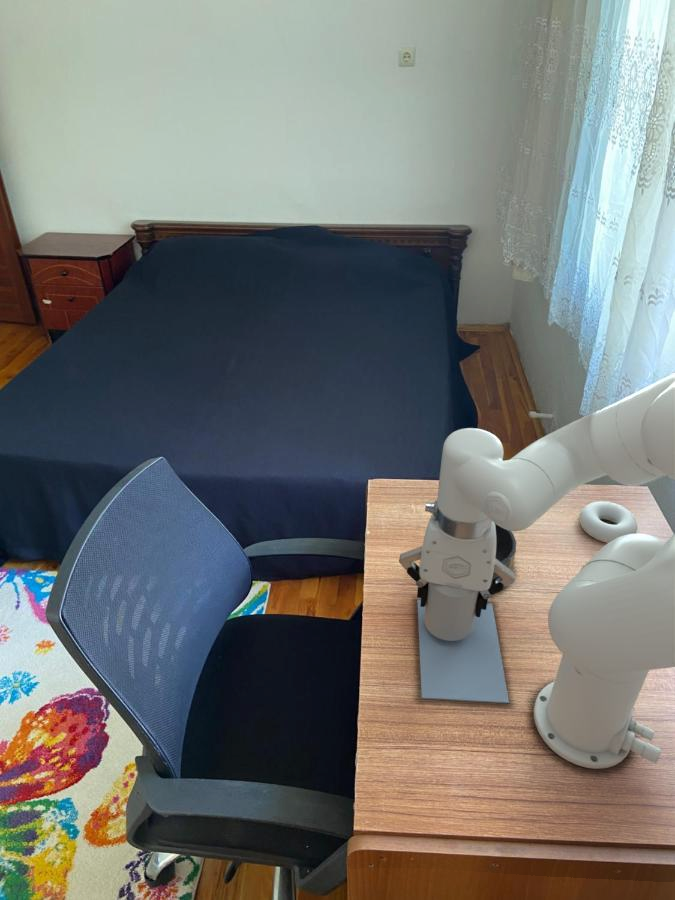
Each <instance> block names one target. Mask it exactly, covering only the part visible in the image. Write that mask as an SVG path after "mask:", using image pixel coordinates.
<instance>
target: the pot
mask: <svg viewBox="0 0 675 900" xmlns="http://www.w3.org/2000/svg"><path fill="white" fill-rule="evenodd" d="M495 528H496V556H495V558H496V559H497V560H498V561H500V562H501V563H502V564H503V565H505V566H506V567H507V568H509V569H510V570H511V571H512V572H513V567H514V562H515V558H516V553H517V540H516V536H515V534H514V532H513V531H509V530H506V529H504V528H501V527H500V526H498V525H497V524H495ZM497 577H500V576H498V575H497V574H496V573H495V572H493V578H492V579H494V578H497Z"/></svg>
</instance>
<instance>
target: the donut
mask: <svg viewBox="0 0 675 900" xmlns="http://www.w3.org/2000/svg"><path fill="white" fill-rule="evenodd" d="M602 520H607V521H610V522H612V523H614V524H610V523H607V522H604V521H602ZM579 523H580V526H581V527H582V529H583V531H584V532H586V533H587V535H589V536H590V537H591V538H593V539H594V540H597V541H600V542H603V543H606V544H608V543H609V542H611V541H612V540H614V539H616V538H618V537H620V536H623V535H627V534H634V533H637V532H638V523H637V519H636V517H635V516H634V514H633V513H632V512H631V511H630V510H628V508H626V507H625V506H623V505H621V504H618V503H614V502H611V501H605V500H603V501H602V500H600V501H593V502H591V503H587V505H585V506H584V507H583V508H582V510H581V511H580V514H579Z"/></svg>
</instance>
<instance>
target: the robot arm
mask: <svg viewBox="0 0 675 900" xmlns="http://www.w3.org/2000/svg"><path fill="white" fill-rule="evenodd" d="M440 462H441V463H440V471H439V480H438V489H437V497H436V499H435V500H434V501H430V502H429V501H426V502H425V509H424V512H427V513H430V514H431V515H430V518H429V520H428V523H427V526H426V529H425V533H424V536H423V541H422V545H421V546H419V547H416V548H412V549H410V550H408V551H405V552H402V553H400V555H399V559H398V563H399V564H400V565H401V566H402V567H403V569H404V570H405V571H406V575H408V576H409V577H410V578H411V579H412V580H413V581H415V586H416V587H417V591H416V598H417V599H420V600H421V604H420V606H421V607H424V606H425V604H426V597H427V589H428V582H430V583H435V584H440V585H445V586H447V585H446V584H445V583H449V584H454V585H460V586H463V587H460V588H462V589H468V590H475V591H479V595H478V600H477V606H476V612H475V616H476V617H480V615H481V609H483V610H486V607H487V603H489V602H488V601H489V600H491V598H492V596H493V595H495V594H497V593H500V592H502V591H503V590H504V589H505V588H507V587H508V586H510V585H511V584H513V583H515V581H516V573H515V572H514V571H513V570H512V571H511V570H510V569H509V568H507V567H506V566H505V565H503V564H502V563H501V562H500V561H498V560H497V559H496V558H495V556H496V528H495V524H497V525H498V526H500V527H501V528H504V529H506V530H509V531H511V532H520V531H523V530H526V529H528V528H529V527H531V526H532V525H533V524H535V523H536V522H537V521H538V520H539V519H540V518H542V517H543V515H545V514H546V513H548V511H550V509H551V508H553V507H554V506H556V504H557V503H559V501H561V500H562V499H563V498H565V497H566V496H567V495H568V494H570V493H571V492H572V491H573V490H575V489H576V488H579V487H580V486H583V485H585V484H588V483H590V482H592V481H594V480H598V479H601V478H602V477H606V476H608V478H610V479H612V480H613V481H615V482H617V483H619V484H620V485H622V486H623V485H624V486H629V487H637V486H642V485H645V484H648V483H650V482H654V481H656V480H659V479H661V478H664V477H668V478H670V479H671V480H673V481H674V482H675V372H674V373H672V374H669V375H668V376H666V377H663V378H662V379H660V380H658V381H656V382H654V383H652V384H650V385H648V386H646V387H644V388H642V389H641V390H638V391H636V392H634V393H632V394H631V395H628V396H626V397H624V398H622V399H620V400H618V401H616V402H614V403H612V404H610V405H608V406H606V407H604V408H602V409H600V410H596V411H593V413H590V414H588V415H585V416H583V417H581V418H579V419H576V420H574V421H573V422H569V423H568V424H566V425H564V426H562V427H559V428H558V429H556V430H555V431H552V432H550V433H548V434H546V435H544V436H543V437H541V438H539V439H537V440H535V441H534V442H532V443H530V444H529V445H528V446H526V447H525V448H523V449H522V450H520V451H519V452H518V453H516V454H515V455H514V456H513V457H510V459H507V460H505V459H504V446H503V443H502V442H501V440H500V439H499V438H498V436H496V435H495V434H493V433H491V432H490V431H487V430H484V429H481V428H474V427H466V428H460V429H457V430H455V431H453V432H451V433H450V434H449V435H448V436H447V437H446V439H445V440H444V443H443V446H442V454H441V461H440ZM419 560H420V561H419ZM417 561H419V565H418V564H417V563H416V562H417ZM493 572H495V573H496V574H497V575H498V576H500V577H497V578H494V579H492V578H493ZM547 616H548V617H547V624H548V631H549V635H550V637H551V639H552V641H553V643H554V645H555V646H556V648H557V649H558V651H560V653H561V654H562V656H561V659H560V662H559V664H558V665H559V666H558V668H557V672H556V675H555V679H554V681H553V682H550V683H548V684H547V685H545V686H544V687H543V688H541V690H540V692H539V693H538V694H537V697H536V699H535V702H534V707H533V720H534V725H535V728H536V729H537V732H538V734H539V735H540V737H541V738H542V740H543V742H544V743H545V744H546V745H547V746H548V747H549V748H550V749H551V751H553V752H554V753H555V754H556V755H558V756H559V757H560V758H562V759H564V760H565V761H567V762H569V763H572V764H573V765H576V766H579V767H583V768H587V769H597V770H598V769H599V770H601V769H607V768H611V767H615V766H616V765H618V764H620V763H621V762H622V761H623V760H624V759H625V758H626V757H627V756H628V755H629V753H630V751H631V752H633V753H635V754H637V755H639V756H640V757H641V758H643V759H645V760H647V761H649V762H651V763H653V764H657V763H658V761H659V758H660V756H661V752H662V749H661V748H660V747H658V746H656V745H654V744H652V743H649V742H648V741H652V740H653V737H654V734H655V730H654V729H652V728H650V727H648V726H646V725H643V724H641V723H639V722H637V719H635V718H633V714H634V711H635V704H636V702H637V699H638V697H639V695H640V692H641V690H642V688H643V686H644V684H645V681H646V679H647V676H648V674H649V672H650V671H653V670H654V671H655V670H662V669H669V668H675V532H673V535H671V537H669V539H668V540H667V541H665V540H663V539H661V538H659V537H657V536H654V535H652V534H647V533H640V532H639V533H638V532H636V533H634V534H627V535H623V536H620V537H618V538H616V539H614V540H612V541H611V542H609V543H606V544H605V545H604V546H602V548H600V549H599V550H598V551H597V552H596V553H595V554H593V556H592V557H591V558H590V559H589V560H588V561H587V562H586V563H585V564H584V565H583V566H582V567H581V568H580V570H579V571H578V572H577V574H575V576H574V577H573V578H571V580H570V581H568V583H566V584H565V586H564V587H563V588H562V589H561V590H560V591H559V592H558V593H557V595H556V596H555V597H554V598H553V601H552V602H551V604H550V607H549V611H548V615H547ZM636 734H637V735H639V736H640V737H642V738H644V739H645V740H648V741H644V740H643V739H641V738H638V737H636Z"/></svg>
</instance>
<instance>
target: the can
mask: <svg viewBox="0 0 675 900" xmlns="http://www.w3.org/2000/svg"><path fill="white" fill-rule="evenodd" d="M445 584H446V585H447V586H445V585H440V584H435V583H430V582H428V589H427V597H426V605H425V614H424V623H425V625H426V628H427V629H428V630H429V632H430V633H431V634H433V635H434V636H436V637H437V638H440V639H443V640H447V641H456V640H461V639H463V638H465V637H467V636H468V635H469V634H470V633H471V631H472V628H473V624H474V619H475V612H476V606H477V600H478V595H479V591H475V590H468V589H462V588H460V587H463V586H460V585H454V584H449V583H445Z"/></svg>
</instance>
